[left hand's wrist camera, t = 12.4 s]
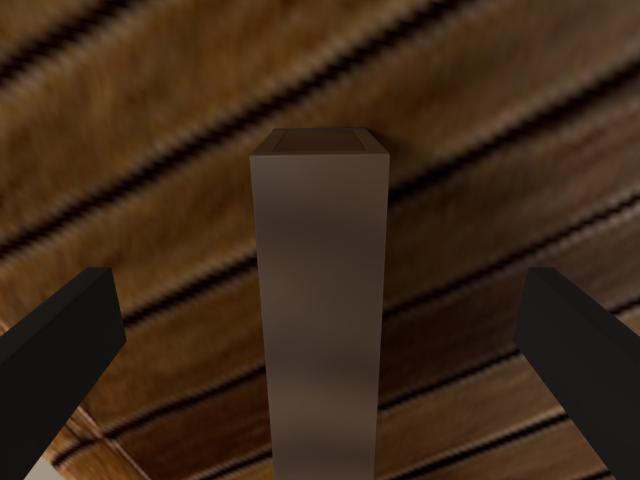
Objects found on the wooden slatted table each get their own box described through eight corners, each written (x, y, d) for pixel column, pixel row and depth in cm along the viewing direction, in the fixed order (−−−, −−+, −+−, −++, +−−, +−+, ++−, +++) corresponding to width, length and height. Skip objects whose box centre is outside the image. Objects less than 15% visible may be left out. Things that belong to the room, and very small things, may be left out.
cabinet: (358, 399, 33) (372, 515, 24) (288, 399, 33) (277, 516, 24) (365, 127, 25) (390, 153, 16) (273, 128, 25) (248, 155, 16)
